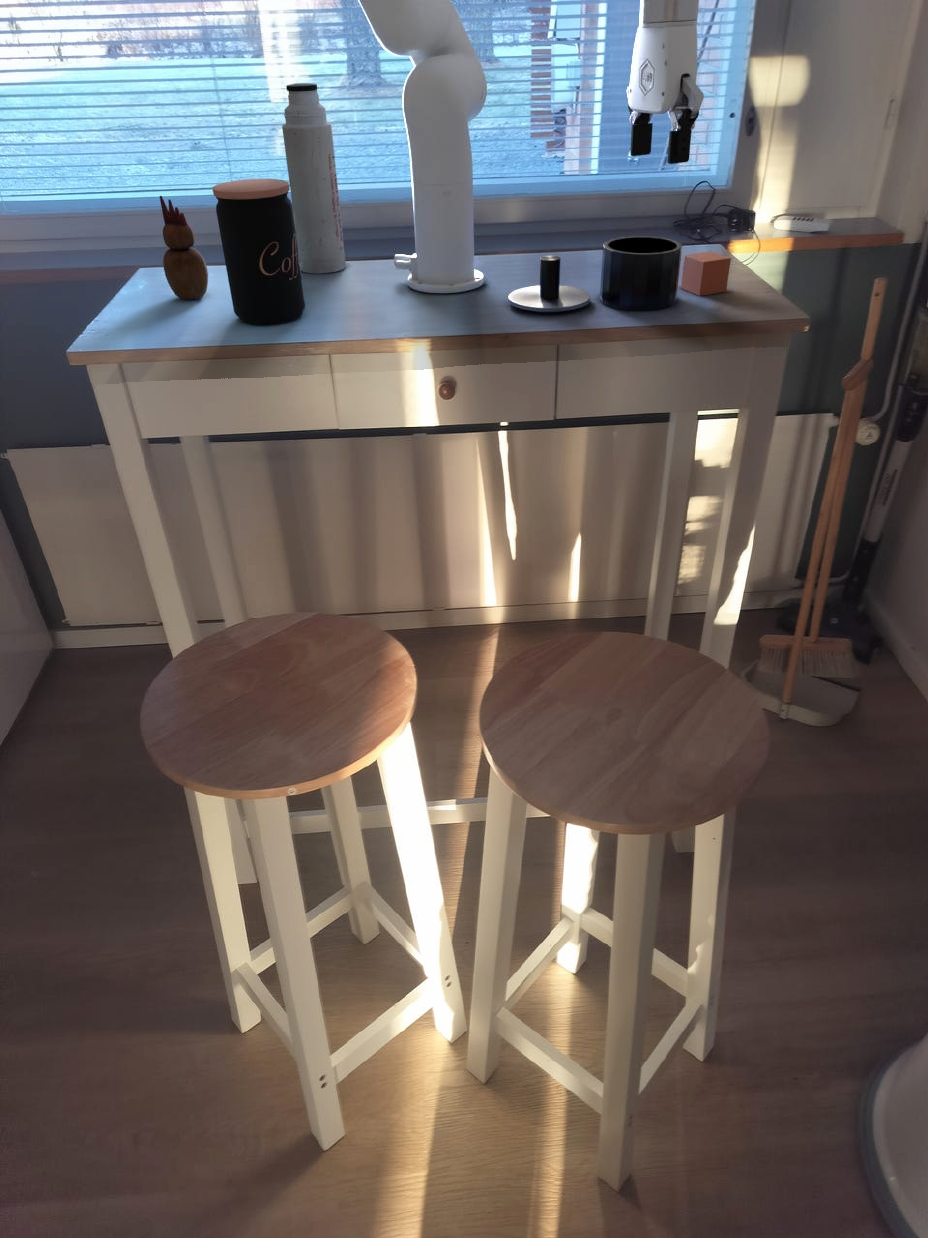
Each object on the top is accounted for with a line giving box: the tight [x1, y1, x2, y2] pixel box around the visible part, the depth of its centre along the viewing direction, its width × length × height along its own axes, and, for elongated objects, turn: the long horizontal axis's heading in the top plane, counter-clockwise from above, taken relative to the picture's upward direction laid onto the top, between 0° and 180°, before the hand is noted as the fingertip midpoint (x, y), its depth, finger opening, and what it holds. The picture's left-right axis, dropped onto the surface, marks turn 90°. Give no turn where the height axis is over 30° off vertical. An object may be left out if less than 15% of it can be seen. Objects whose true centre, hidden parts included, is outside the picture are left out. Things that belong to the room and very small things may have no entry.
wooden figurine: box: [159, 195, 209, 301], centre depth 137 cm, size 7×6×15 cm
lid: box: [508, 255, 591, 313], centre depth 131 cm, size 12×12×7 cm
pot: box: [599, 235, 683, 312], centre depth 131 cm, size 11×12×8 cm
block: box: [680, 250, 732, 297], centre depth 136 cm, size 5×5×5 cm
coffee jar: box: [212, 178, 306, 326], centre depth 126 cm, size 11×11×18 cm
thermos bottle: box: [281, 82, 347, 274], centre depth 146 cm, size 8×8×28 cm
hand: (658, 158), depth 124 cm, fingers open, 9 cm apart
